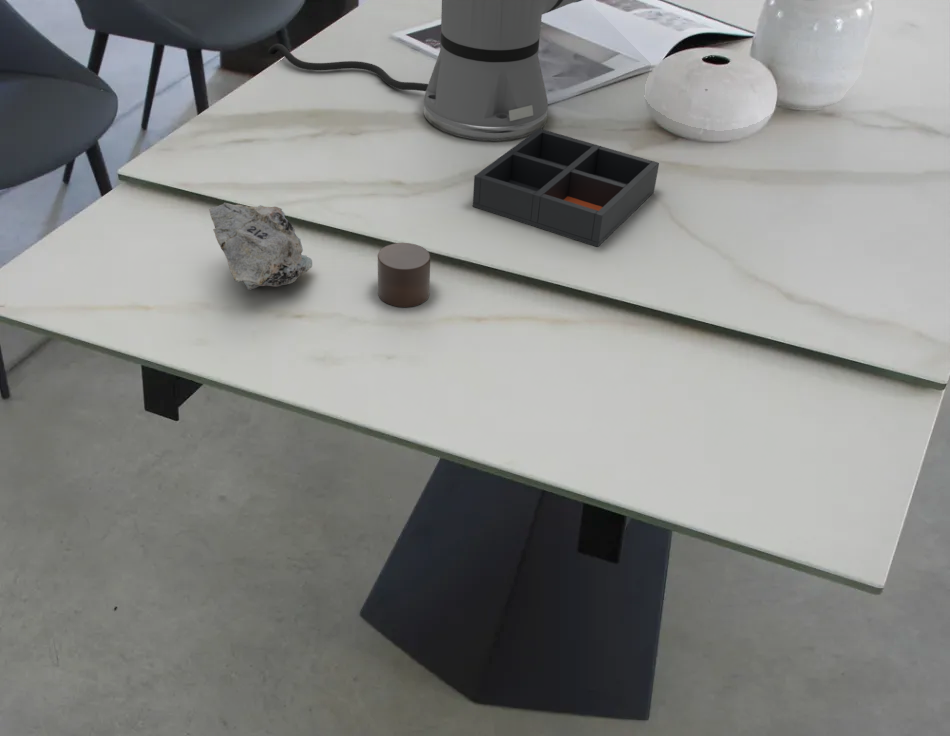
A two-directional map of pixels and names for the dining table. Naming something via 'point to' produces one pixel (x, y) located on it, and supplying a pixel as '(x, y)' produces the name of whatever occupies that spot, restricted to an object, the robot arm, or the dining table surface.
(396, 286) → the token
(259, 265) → the mineral specimen
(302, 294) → the dining table surface
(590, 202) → the grid
